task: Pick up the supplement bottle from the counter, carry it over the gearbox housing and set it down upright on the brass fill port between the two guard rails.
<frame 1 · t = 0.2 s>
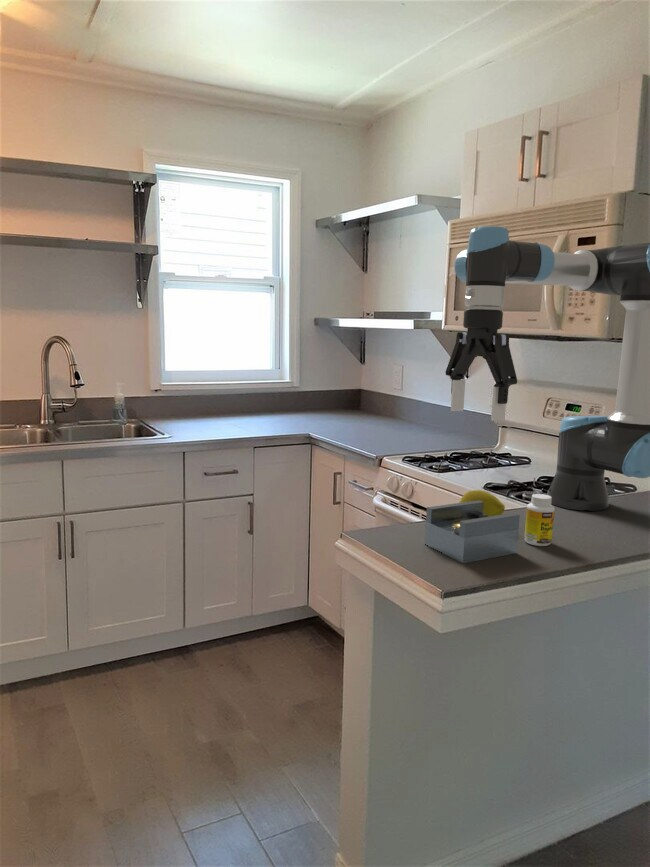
hand: (476, 415, 137), 27 cm above the worktop, tool pointing down, fingers open, 13 cm apart
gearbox: (470, 548, 138), on the worktop
lemon: (478, 525, 155), on the worktop
supplement bottle: (537, 543, 143), on the worktop
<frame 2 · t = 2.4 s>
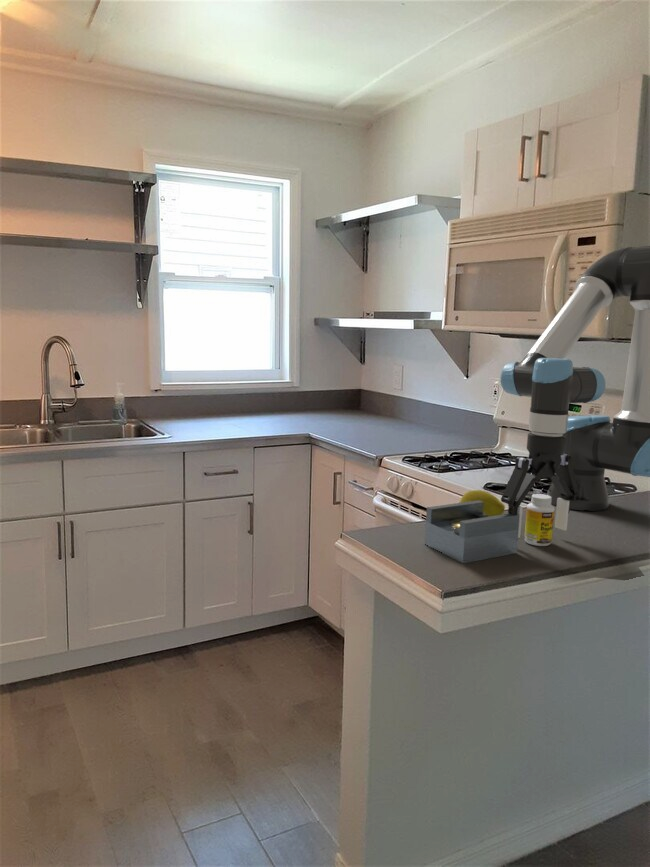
hand: (537, 532, 143), 2 cm above the worktop, tool pointing down, fingers open, 13 cm apart
nothing on the worktop moved.
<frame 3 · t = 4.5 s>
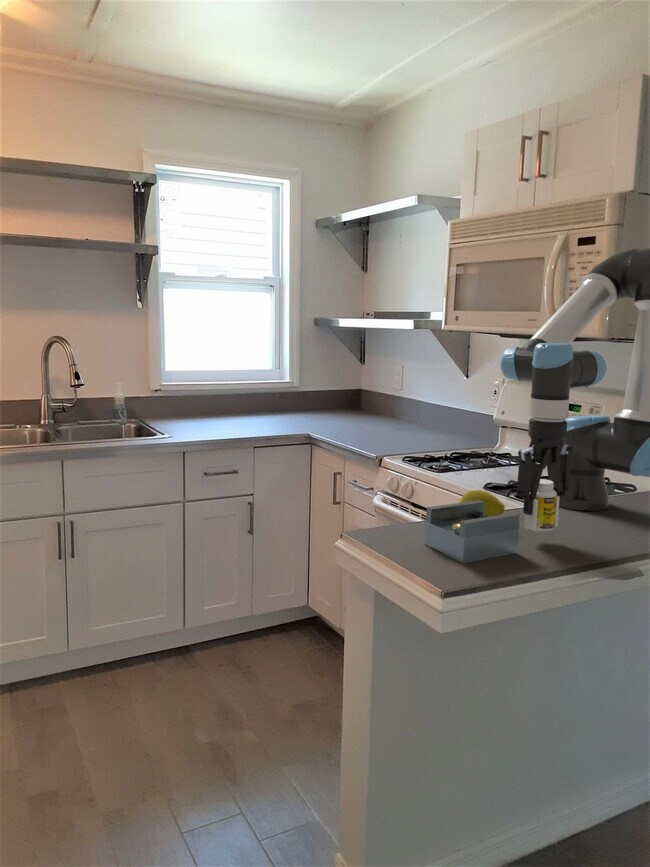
hand: (540, 526, 143), 3 cm above the worktop, tool pointing down, fingers closed on supplement bottle, 6 cm apart
supplement bottle: (540, 528, 143), point 3 cm above the worktop, touching gripper
everything else where it was.
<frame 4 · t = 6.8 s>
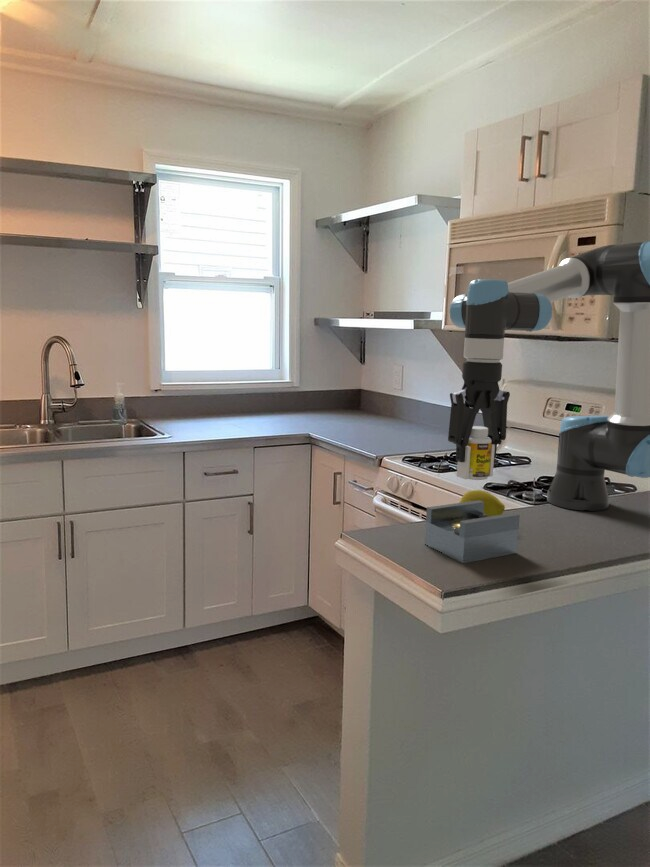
hand: (474, 476, 136), 15 cm above the worktop, tool pointing down, fingers closed on supplement bottle, 6 cm apart
supplement bottle: (474, 478, 136), point 15 cm above the worktop, touching gripper
everything else where it was.
when the fingers open (6 cm above the worktop, at t = 9.1 s): supplement bottle stays where it is, resting on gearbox.
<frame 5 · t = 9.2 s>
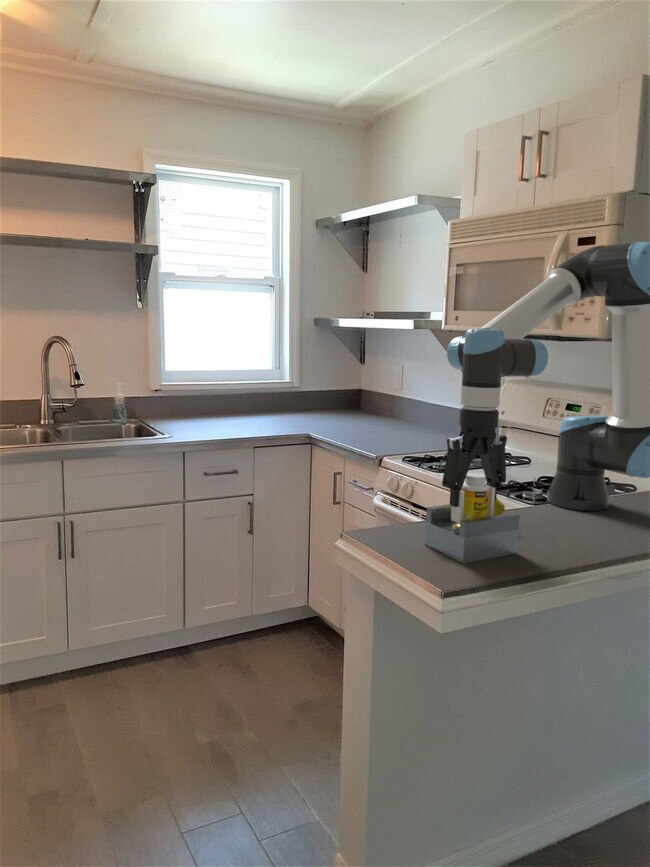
hand: (472, 519, 137), 6 cm above the worktop, tool pointing down, fingers open, 7 cm apart
supplement bottle: (472, 524, 138), point 5 cm above the worktop, touching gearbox
everything else where it was.
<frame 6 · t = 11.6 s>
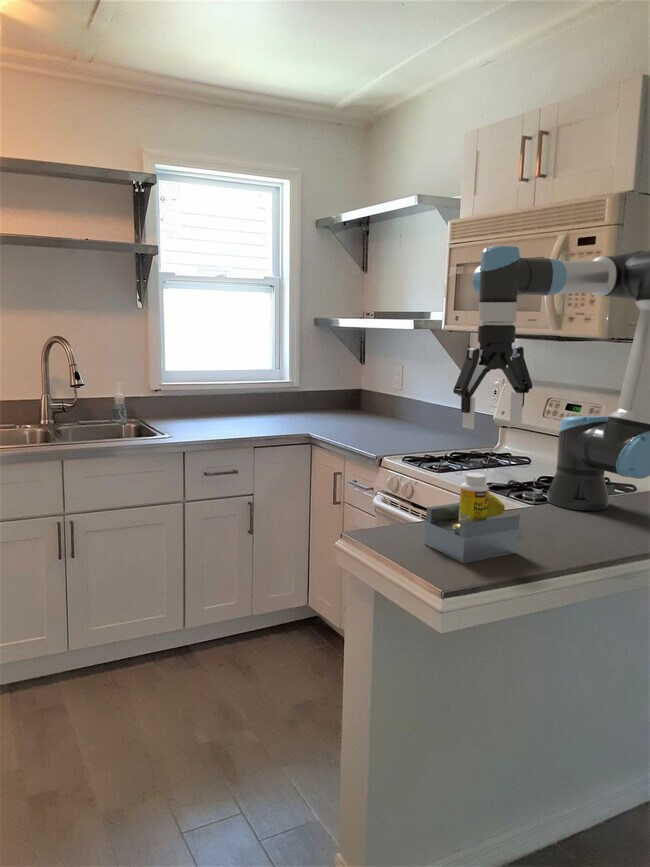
hand: (492, 425, 143), 24 cm above the worktop, tool pointing down, fingers open, 13 cm apart
nothing on the worktop moved.
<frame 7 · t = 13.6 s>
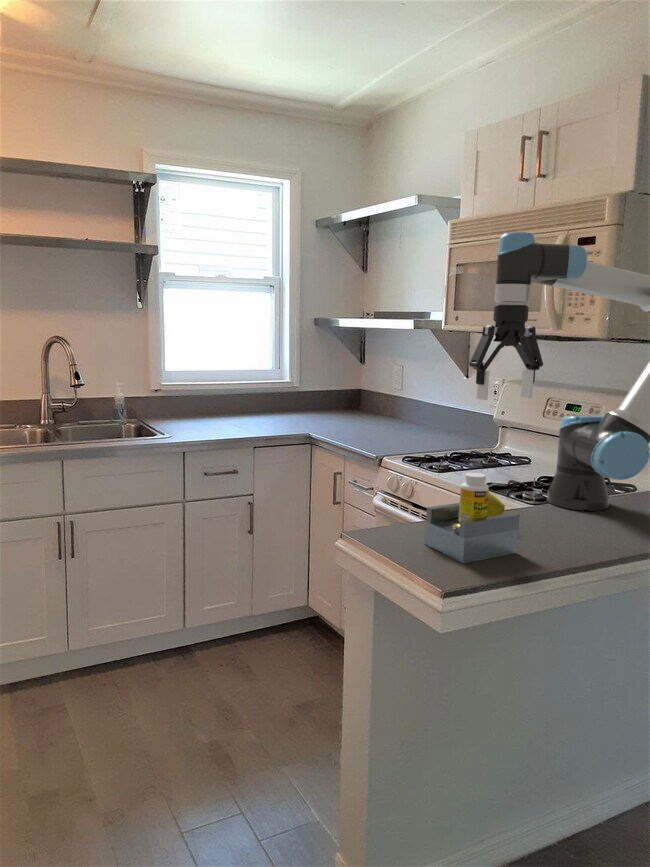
hand: (504, 398, 155), 29 cm above the worktop, tool pointing down, fingers open, 13 cm apart
nothing on the worktop moved.
at the end: supplement bottle inside the target area on the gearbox (0.1 cm from its centre), point 5.1 cm above the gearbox's base; supplement bottle tilted 0°; the gripper is holding nothing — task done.
